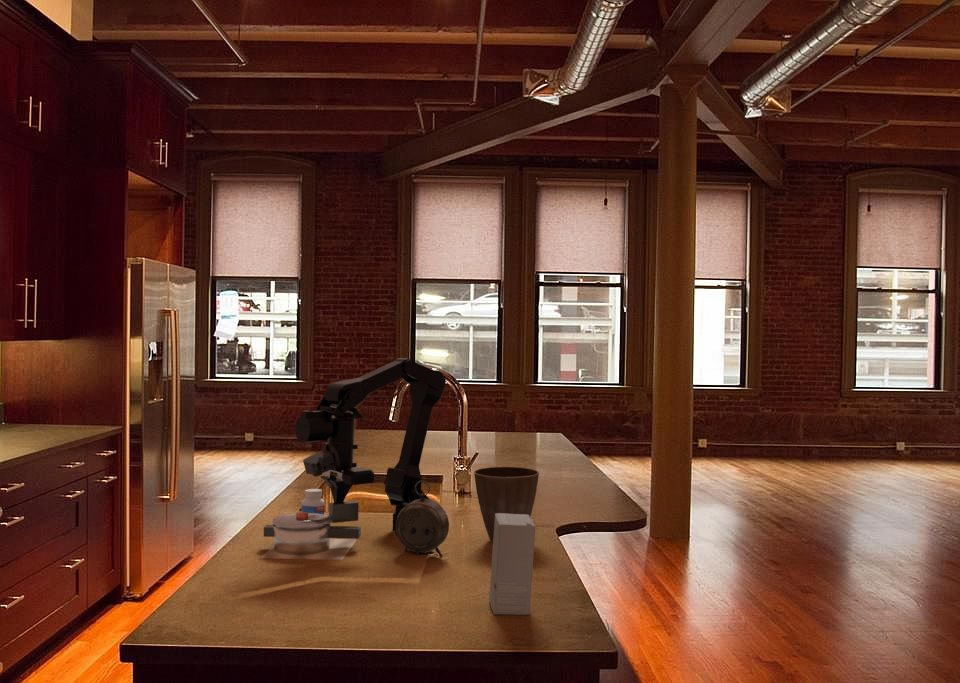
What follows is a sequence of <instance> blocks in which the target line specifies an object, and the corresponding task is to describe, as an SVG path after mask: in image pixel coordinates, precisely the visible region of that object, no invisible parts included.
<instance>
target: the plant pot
mask: <svg viewBox="0 0 960 683" xmlns="http://www.w3.org/2000/svg"><path fill="white" fill-rule="evenodd" d="M473 475H474V476H473V477H474V481H475V488H476V494H477V495H476V496H477V500H478V505H479V508H480V509H479V510H480V514H481V518H482V520H483V523H484V527H485V529H486V532H487V536H488V537H489V540H490V542H491V543H493V538H494V523H495V514H496V513H507V514H525V515H529V516H530V517H531V516H532V513H533V509H534V504H535V500H536V495H537V488H538V482H539V476H540V471H538V470H536V469H532V468H527V467H520V466H519V467H517V466H495V467H494V466H492V467H491V466H490V467H481V468H478V469H475V470H474V471H473Z"/></svg>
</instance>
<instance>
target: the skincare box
mask: <svg viewBox="0 0 960 683" xmlns="http://www.w3.org/2000/svg"><path fill="white" fill-rule="evenodd" d="M533 521H534V519H533V518H531V516H529V515H525V514H507V513H496V514H495V523H494V538H493V542H492V552H491V553H492V555H491V567H490V583H489V584H490V585H489V595H488V597H489V598H488V599H489V604H490V607H491V611H492V613H493V615H517V616H519V615H520V616H522V615H523V616H525V615H530V614H531V601H532V600H531V599H532V598H531V597H532V584H533V583H532V582H533V568H534V554H535V542H536V540H535V538H536V524H534V522H533Z"/></svg>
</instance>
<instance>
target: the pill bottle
mask: <svg viewBox="0 0 960 683" xmlns="http://www.w3.org/2000/svg"><path fill="white" fill-rule="evenodd" d="M322 496H323V490H322V489H320V488H309V489H305V490H304V497H305V498H304V499H302V501H301V510H300V512H307V513H316V514H324V515H325V500H324V499H323V498H322Z"/></svg>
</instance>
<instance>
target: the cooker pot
mask: <svg viewBox="0 0 960 683" xmlns="http://www.w3.org/2000/svg"><path fill="white" fill-rule="evenodd" d="M361 528H362V527H361V526H347V525H346V526H345V525H343V526H342V525H341V526H340V525H331V524H330V525H329V526H326V527H322V528H317V529H308V530H288V529H281V528H277V527H274V526H273V524H266V525H265V526H263V537H265V538H267V537H268V538H271V537H272V538H273V540H272V543H273V546H272V547H273V550H274V551H275V552H278V553H281V554H288V555H308V554H316V553H321V552H324V551H327V550H328V549H330V539H357V540H358V539H359V538H360V537H361V532H362V531H361Z"/></svg>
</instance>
